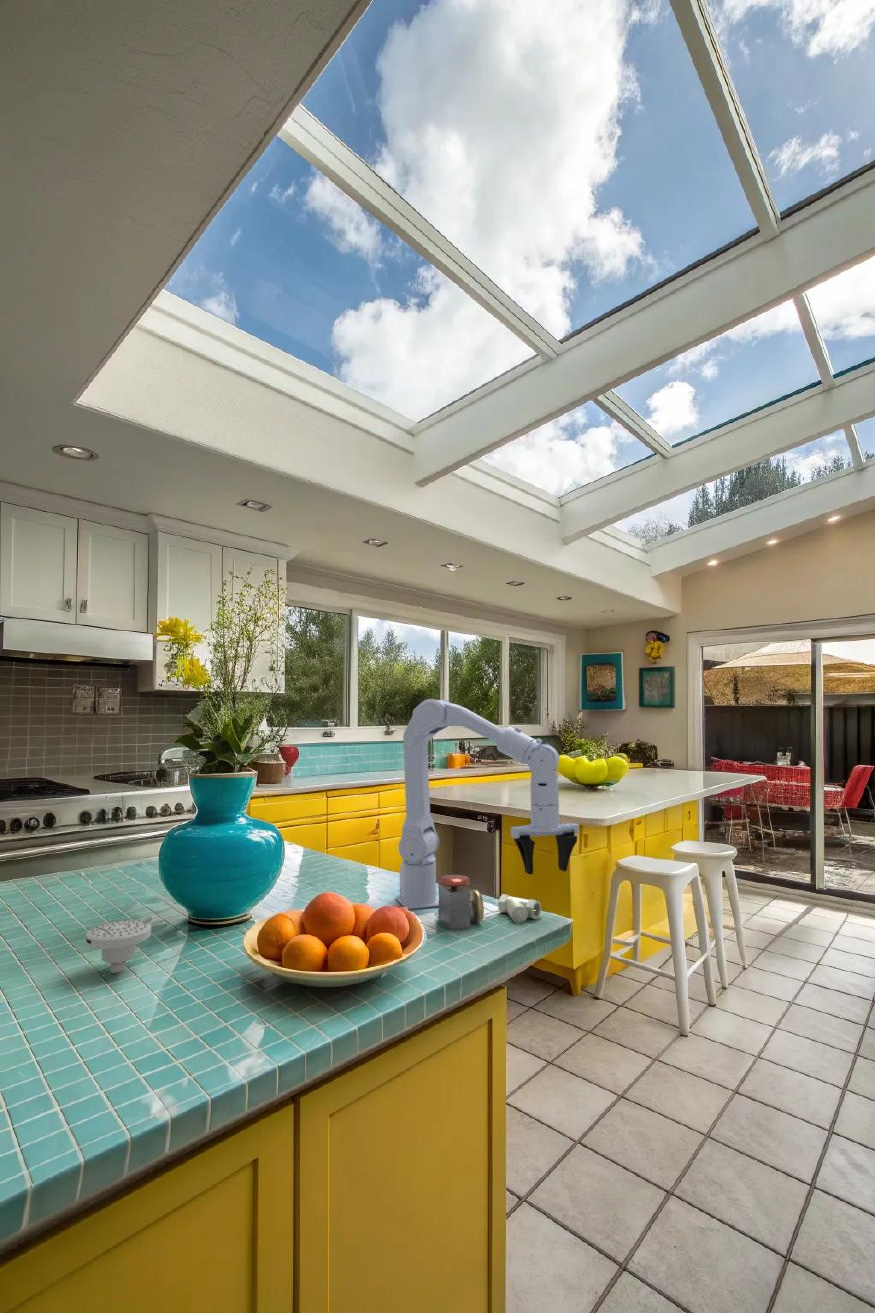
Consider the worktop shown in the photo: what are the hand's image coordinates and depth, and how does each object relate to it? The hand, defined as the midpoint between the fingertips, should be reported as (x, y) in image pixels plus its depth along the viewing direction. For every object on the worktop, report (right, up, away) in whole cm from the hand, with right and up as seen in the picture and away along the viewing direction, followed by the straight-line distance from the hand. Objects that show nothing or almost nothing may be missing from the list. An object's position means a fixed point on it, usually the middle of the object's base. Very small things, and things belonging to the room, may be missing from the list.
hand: (546, 871), depth 135 cm
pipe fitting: (-7, -9, -2) cm, 11 cm away
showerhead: (-73, -7, -29) cm, 79 cm away
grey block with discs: (-18, -8, -6) cm, 20 cm away
